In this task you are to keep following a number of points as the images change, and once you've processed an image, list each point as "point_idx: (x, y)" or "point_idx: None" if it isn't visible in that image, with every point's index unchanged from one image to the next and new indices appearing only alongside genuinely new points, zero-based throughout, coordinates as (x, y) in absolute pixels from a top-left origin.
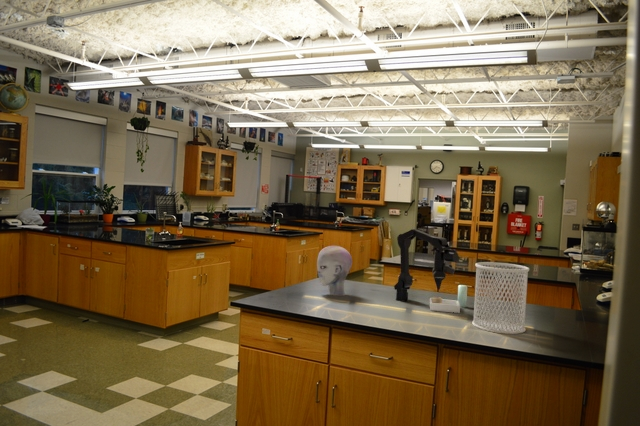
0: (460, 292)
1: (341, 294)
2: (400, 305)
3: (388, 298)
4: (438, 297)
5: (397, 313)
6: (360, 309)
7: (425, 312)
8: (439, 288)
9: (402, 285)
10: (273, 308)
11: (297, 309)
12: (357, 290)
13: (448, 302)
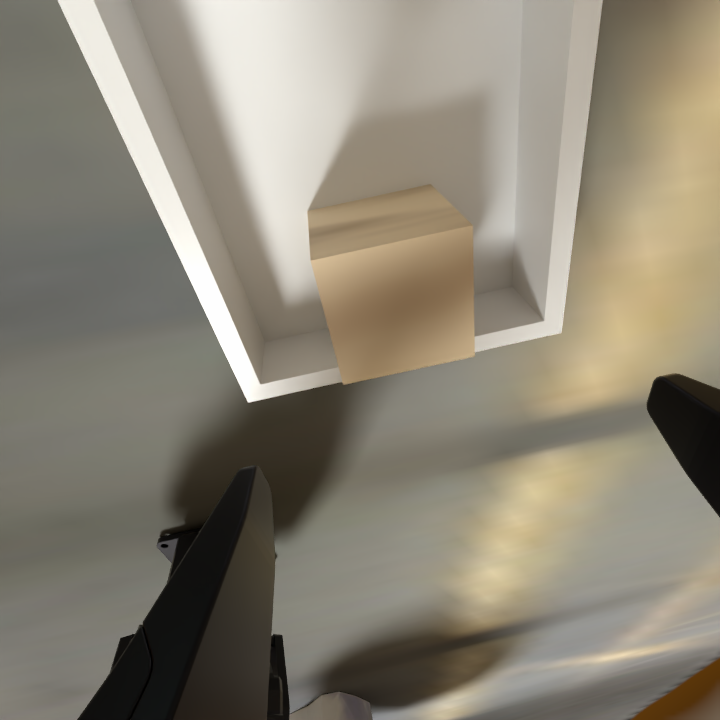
0: None
1: (350, 700)
2: (430, 503)
3: None
4: (342, 307)
5: None
6: (626, 582)
7: (625, 309)
8: (703, 387)
9: (286, 692)
10: (669, 687)
11: (672, 664)
12: None
13: (160, 120)
